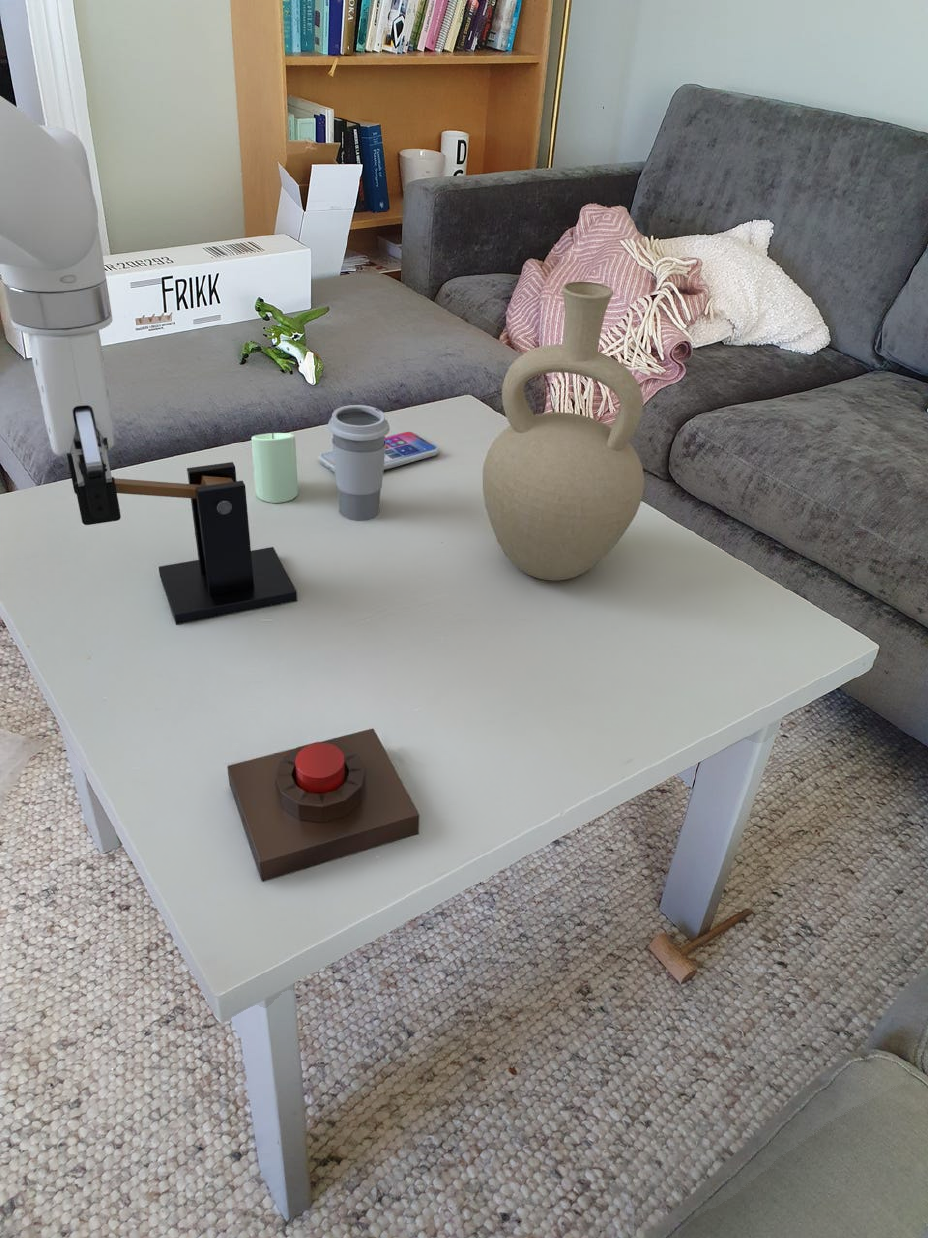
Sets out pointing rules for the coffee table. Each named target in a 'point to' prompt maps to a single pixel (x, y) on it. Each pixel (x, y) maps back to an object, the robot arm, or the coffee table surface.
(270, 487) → the candle
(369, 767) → the button box
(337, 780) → the button
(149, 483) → the lever
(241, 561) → the bracket
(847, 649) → the coffee table surface
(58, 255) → the robot arm
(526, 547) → the vase
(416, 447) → the smartphone
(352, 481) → the cup
